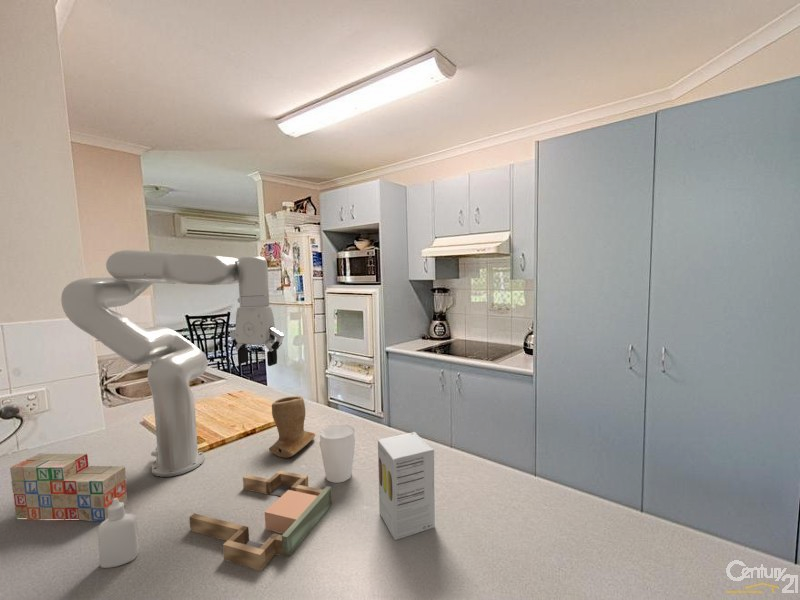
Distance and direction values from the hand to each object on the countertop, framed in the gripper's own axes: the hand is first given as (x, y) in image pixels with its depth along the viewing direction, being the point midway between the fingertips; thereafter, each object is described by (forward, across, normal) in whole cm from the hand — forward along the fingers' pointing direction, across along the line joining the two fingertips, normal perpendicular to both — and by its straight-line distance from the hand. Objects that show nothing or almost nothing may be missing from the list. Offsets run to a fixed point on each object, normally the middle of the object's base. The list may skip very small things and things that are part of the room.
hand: (257, 363), depth 100 cm
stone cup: (+29, +2, +10) cm, 30 cm away
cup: (+28, +24, 0) cm, 37 cm away
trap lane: (+28, +16, -19) cm, 38 cm away
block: (+29, +23, -18) cm, 41 cm away
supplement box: (+28, +46, -11) cm, 55 cm away
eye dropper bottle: (+28, -2, -37) cm, 47 cm away
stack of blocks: (+29, -28, -30) cm, 50 cm away
